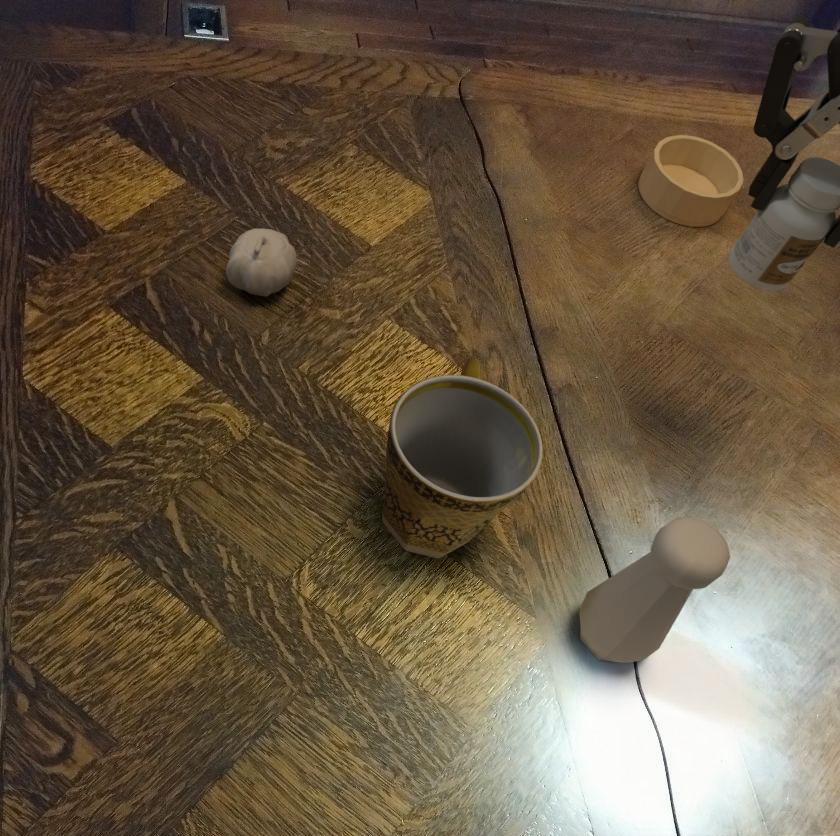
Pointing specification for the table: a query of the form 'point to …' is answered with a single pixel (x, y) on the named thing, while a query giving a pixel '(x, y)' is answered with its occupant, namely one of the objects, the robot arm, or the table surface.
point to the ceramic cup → (455, 460)
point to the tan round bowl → (690, 180)
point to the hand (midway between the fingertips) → (794, 219)
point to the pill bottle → (788, 226)
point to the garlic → (261, 262)
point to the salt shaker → (652, 591)
